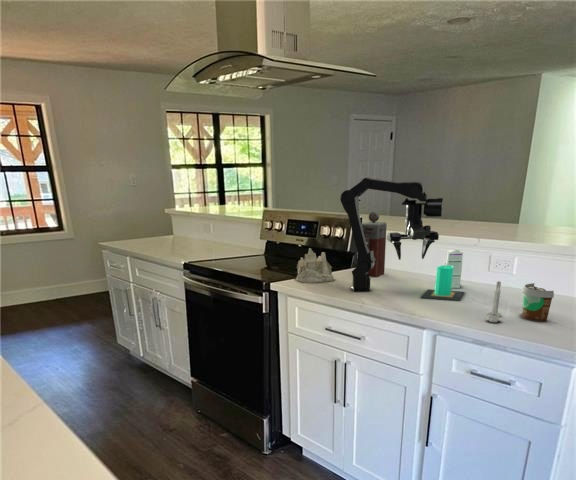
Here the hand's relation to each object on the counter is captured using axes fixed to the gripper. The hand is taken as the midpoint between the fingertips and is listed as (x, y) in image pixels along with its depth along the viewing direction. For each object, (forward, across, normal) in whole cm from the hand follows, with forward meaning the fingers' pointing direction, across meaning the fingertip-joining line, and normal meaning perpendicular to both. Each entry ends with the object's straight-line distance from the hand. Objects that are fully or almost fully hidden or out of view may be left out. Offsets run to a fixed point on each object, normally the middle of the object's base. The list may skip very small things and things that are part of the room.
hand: (411, 259), depth 197 cm
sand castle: (+13, -34, +33) cm, 49 cm away
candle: (+13, +11, -8) cm, 18 cm away
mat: (+13, +11, -8) cm, 19 cm away
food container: (+13, +27, -43) cm, 52 cm away
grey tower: (+13, +20, +6) cm, 25 cm away
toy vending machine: (+13, -7, +37) cm, 40 cm away
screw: (+13, +14, -45) cm, 49 cm away
